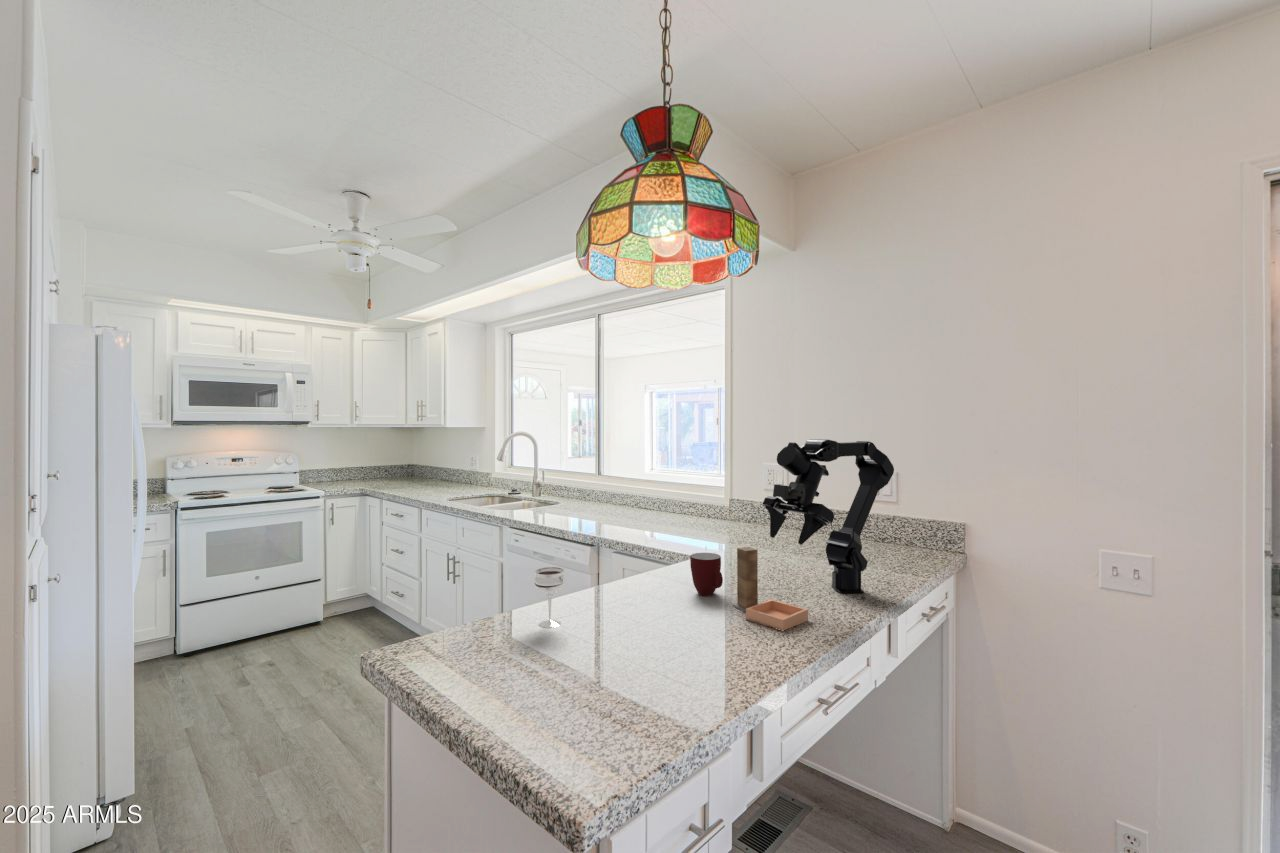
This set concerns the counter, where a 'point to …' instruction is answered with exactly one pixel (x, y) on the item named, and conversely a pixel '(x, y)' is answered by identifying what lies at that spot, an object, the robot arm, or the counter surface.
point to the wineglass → (549, 588)
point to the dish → (777, 614)
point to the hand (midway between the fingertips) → (785, 540)
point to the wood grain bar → (747, 578)
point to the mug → (706, 572)
